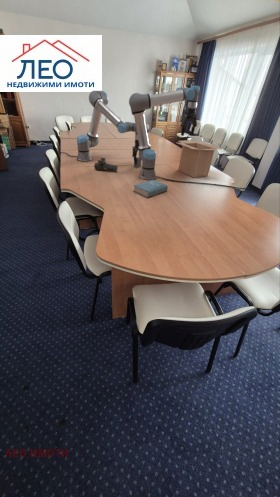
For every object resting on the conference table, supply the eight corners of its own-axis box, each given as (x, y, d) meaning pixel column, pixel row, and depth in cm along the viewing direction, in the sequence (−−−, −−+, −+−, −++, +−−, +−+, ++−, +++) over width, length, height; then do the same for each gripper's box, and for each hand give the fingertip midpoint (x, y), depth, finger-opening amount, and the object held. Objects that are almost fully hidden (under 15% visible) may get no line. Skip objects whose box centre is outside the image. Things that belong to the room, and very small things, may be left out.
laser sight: (115, 173, 209) (115, 162, 203) (92, 170, 212) (92, 159, 206) (118, 170, 216) (118, 159, 211) (96, 167, 219) (95, 157, 213)
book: (152, 185, 190) (153, 179, 187) (167, 191, 181) (167, 185, 178) (133, 191, 176) (133, 185, 173) (147, 198, 167) (148, 191, 164)
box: (220, 177, 217) (229, 148, 201) (192, 181, 203) (199, 150, 187) (192, 165, 247) (198, 138, 231) (166, 167, 233) (170, 139, 217)
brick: (137, 165, 234) (137, 156, 229) (140, 167, 230) (141, 158, 225) (133, 166, 231) (134, 157, 226) (137, 167, 228) (137, 158, 222)
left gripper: (143, 137, 222) (141, 161, 236) (129, 139, 213) (128, 164, 226) (148, 139, 218) (146, 163, 232) (133, 140, 208) (132, 166, 222)
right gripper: (197, 107, 199) (192, 133, 212) (178, 107, 186) (174, 135, 198) (204, 108, 195) (198, 134, 207) (185, 108, 181) (181, 136, 194)
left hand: (137, 163), depth 229 cm, fingers closed on brick, 5 cm apart
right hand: (187, 135), depth 203 cm, fingers open, 13 cm apart
